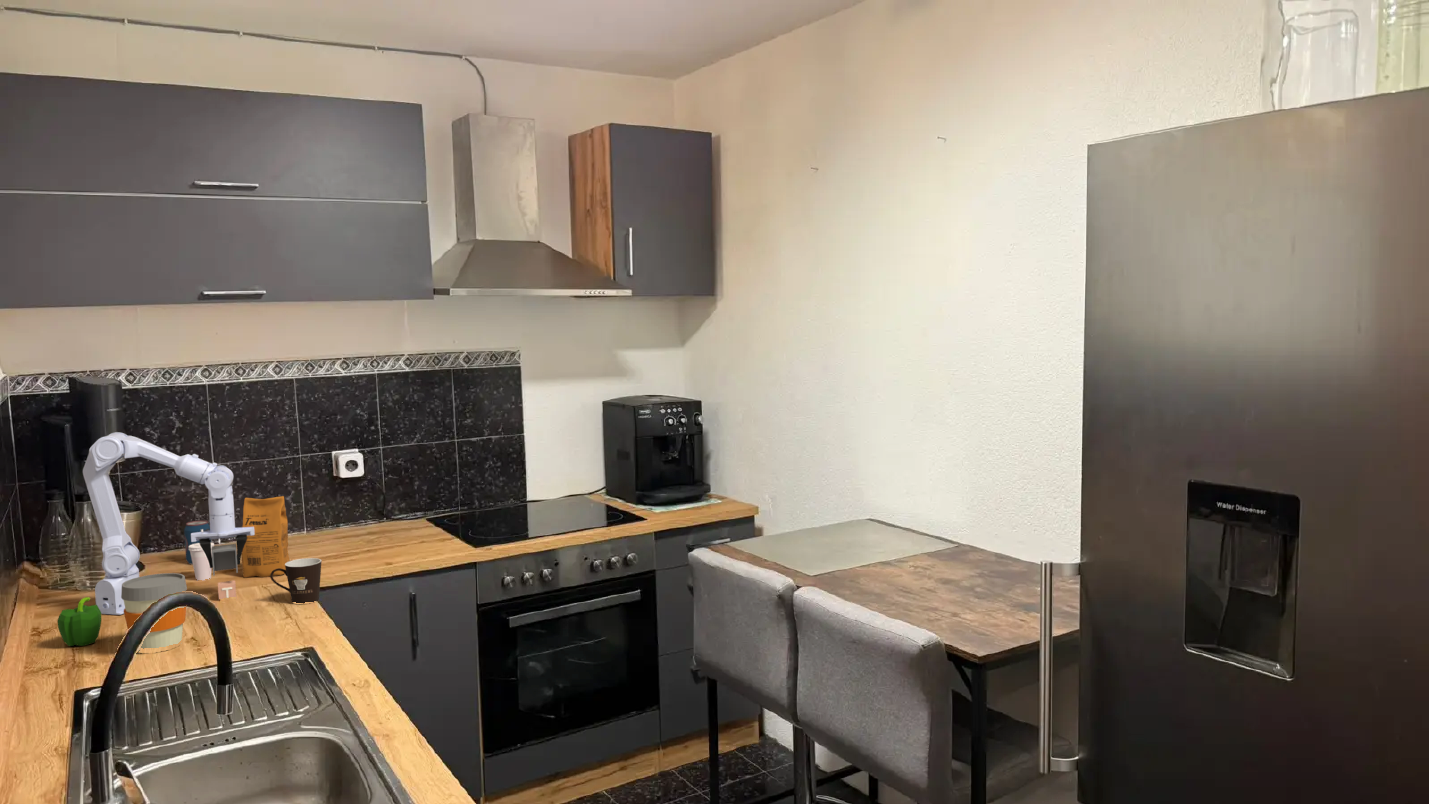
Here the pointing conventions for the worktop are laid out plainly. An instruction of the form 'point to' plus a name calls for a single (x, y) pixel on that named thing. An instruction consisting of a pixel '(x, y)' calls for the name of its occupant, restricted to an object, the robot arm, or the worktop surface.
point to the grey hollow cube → (224, 557)
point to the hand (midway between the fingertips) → (225, 565)
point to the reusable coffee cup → (148, 591)
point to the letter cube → (227, 589)
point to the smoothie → (200, 561)
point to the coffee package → (265, 537)
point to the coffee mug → (302, 579)
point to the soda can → (193, 528)
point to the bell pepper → (80, 624)
